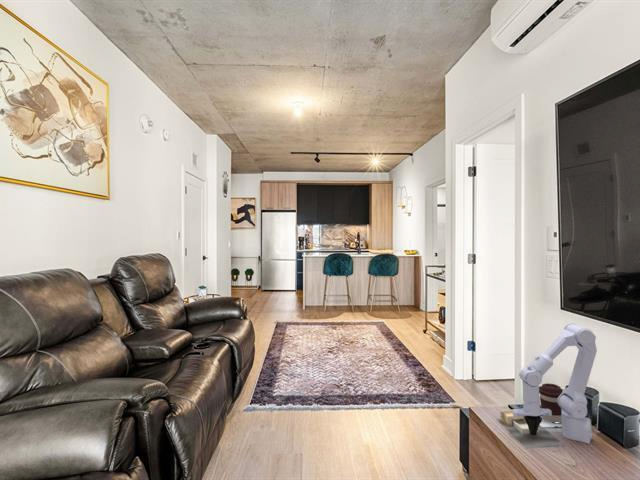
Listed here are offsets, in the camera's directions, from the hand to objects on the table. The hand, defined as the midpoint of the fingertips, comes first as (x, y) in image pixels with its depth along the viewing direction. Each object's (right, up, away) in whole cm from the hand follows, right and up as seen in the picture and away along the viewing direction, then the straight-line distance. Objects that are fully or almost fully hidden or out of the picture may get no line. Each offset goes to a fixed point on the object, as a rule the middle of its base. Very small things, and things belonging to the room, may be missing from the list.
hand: (533, 434), depth 146 cm
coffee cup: (+16, -1, +12) cm, 20 cm away
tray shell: (0, -1, +7) cm, 7 cm away
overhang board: (0, -2, +3) cm, 4 cm away
